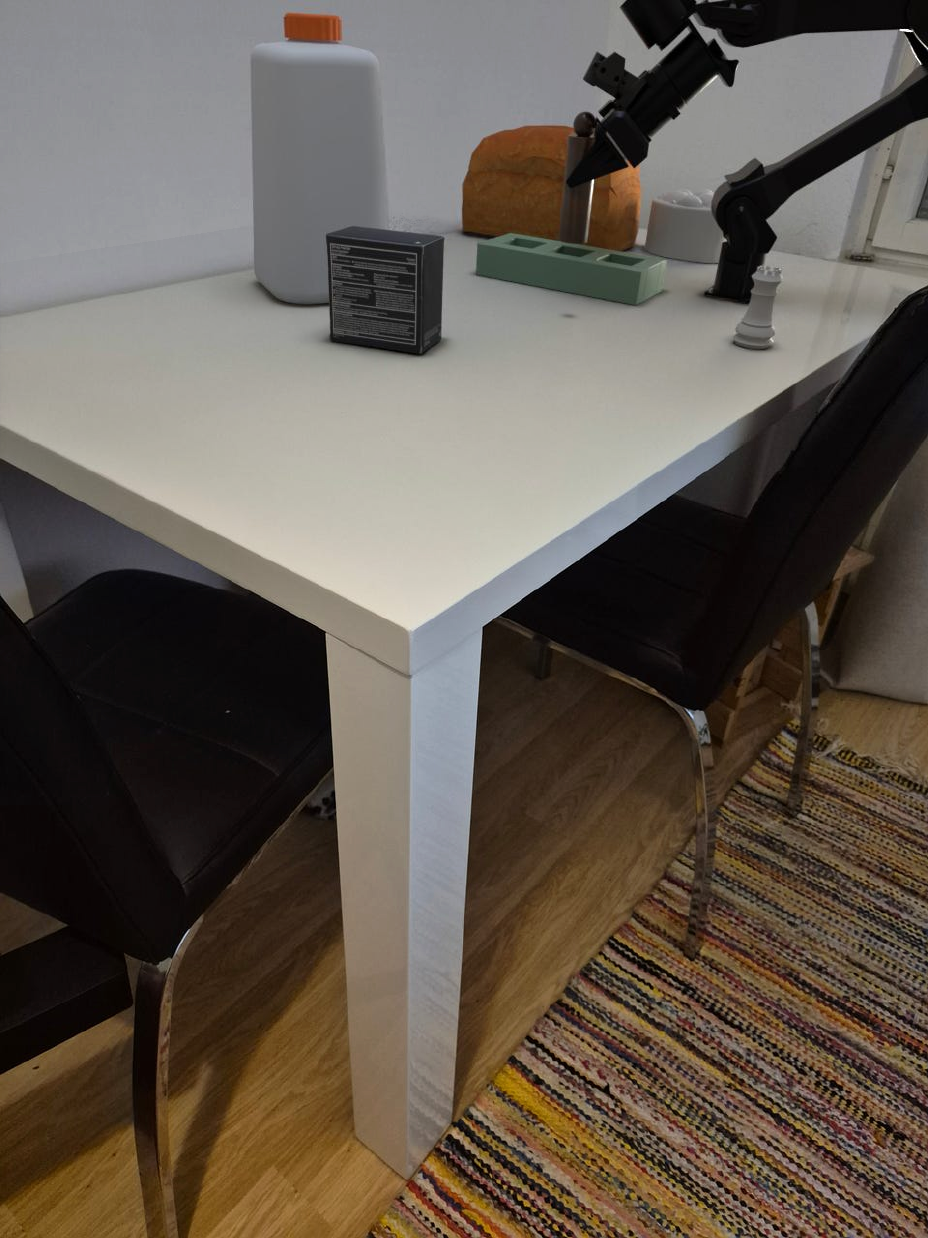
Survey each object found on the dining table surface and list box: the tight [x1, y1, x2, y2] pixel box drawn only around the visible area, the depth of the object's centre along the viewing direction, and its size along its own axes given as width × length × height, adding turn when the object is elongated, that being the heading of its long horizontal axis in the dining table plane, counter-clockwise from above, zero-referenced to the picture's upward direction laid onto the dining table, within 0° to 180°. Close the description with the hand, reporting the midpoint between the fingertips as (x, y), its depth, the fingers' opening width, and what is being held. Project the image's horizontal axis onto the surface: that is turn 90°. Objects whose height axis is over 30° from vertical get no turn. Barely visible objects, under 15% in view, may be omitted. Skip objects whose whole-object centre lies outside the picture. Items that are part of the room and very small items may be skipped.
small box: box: [326, 226, 445, 355], centre depth 89 cm, size 11×6×10 cm, turn 71°
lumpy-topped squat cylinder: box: [644, 187, 727, 264], centre depth 133 cm, size 10×13×9 cm
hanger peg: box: [558, 110, 597, 244], centre depth 109 cm, size 4×4×15 cm
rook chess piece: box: [732, 265, 784, 350], centre depth 95 cm, size 4×4×8 cm
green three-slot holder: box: [475, 233, 668, 306], centre depth 115 cm, size 9×23×4 cm, turn 59°
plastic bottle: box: [250, 12, 391, 305], centre depth 100 cm, size 15×15×28 cm
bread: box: [461, 124, 642, 252], centre depth 135 cm, size 16×27×16 cm, turn 61°
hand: (567, 182), depth 110 cm, fingers closed on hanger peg, 4 cm apart
